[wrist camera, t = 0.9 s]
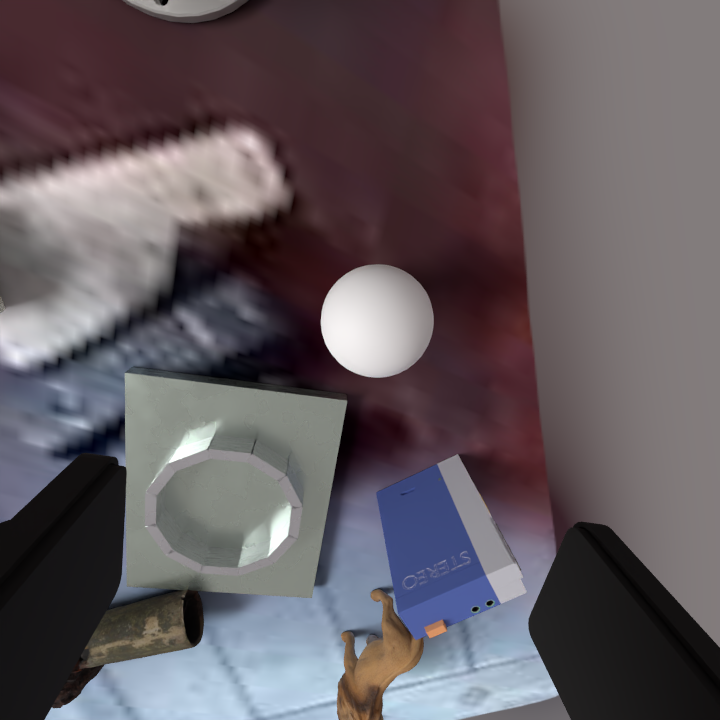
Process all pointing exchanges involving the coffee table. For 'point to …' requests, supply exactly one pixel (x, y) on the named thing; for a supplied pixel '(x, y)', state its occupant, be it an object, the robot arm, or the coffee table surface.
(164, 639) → the brown camo elongated piece
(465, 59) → the coffee table surface
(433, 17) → the coffee table surface
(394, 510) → the walkman
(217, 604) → the coffee table surface
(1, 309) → the valve
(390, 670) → the lion figurine
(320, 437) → the duct collar
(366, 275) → the lightbulb
